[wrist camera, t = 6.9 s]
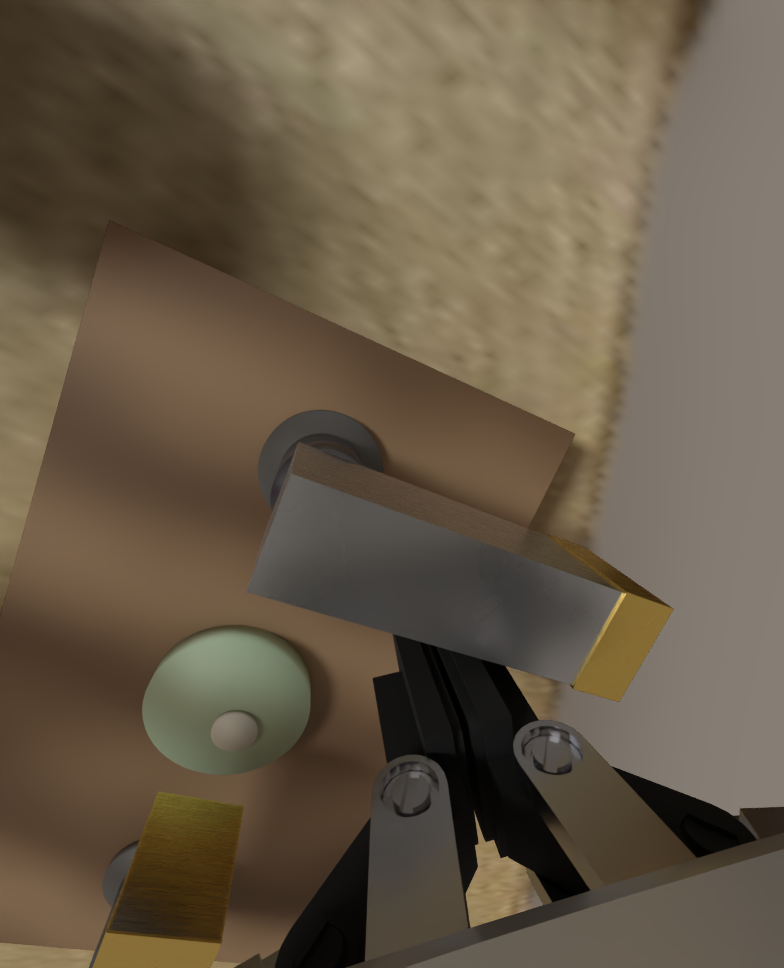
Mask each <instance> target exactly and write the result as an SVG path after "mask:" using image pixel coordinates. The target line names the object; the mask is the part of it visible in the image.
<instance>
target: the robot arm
mask: <svg viewBox="0 0 784 968" xmlns="http://www.w3.org/2000/svg"><path fill="white" fill-rule="evenodd" d="M393 640H394V645H395V651H396V656H397V661H398V667H399V672H395V673H391V674H387V675H382V676H378V677H374V678H373V685H374V691H375V697H376V702H377V708H378V714H379V720H380V726H381V732H382V738H383V744H384V750H385V756H386V761H387V764H386V765H385V766H384V767H383V768H382V769H381V770H380V771H379V773H378V775H377V777H376V778H375V780H374V783H373V788H372V796H371V817H370V818H369V820H368V821H367V823H366V824H365V825H364V827H363V828H362V830H361V831H360V832H359V834H358V835H357V837H356V838H355V839H354V841H353V842H352V844H351V845H350V846H349V848H348V849H347V851H346V852H345V853H344V855H343V856H342V858H341V859H340V860H339V862H338V863H337V865H336V866H335V867H334V869H333V870H332V872H331V873H330V874H329V876H328V877H327V879H326V880H325V881H324V883H323V884H322V886H321V887H320V888H319V890H318V891H317V893H316V894H315V895H314V897H313V898H312V900H311V901H310V902H309V904H308V905H307V907H306V908H305V909H304V911H303V912H302V914H301V915H300V916H299V918H298V919H297V921H296V922H295V923H294V925H293V926H292V928H291V929H290V931H289V932H288V934H287V936H286V938H285V939H284V941H283V943H282V945H281V947H280V949H279V950H278V951H276V952H274V953H273V954H271V955H269V956H267V957H266V958H264V959H261V956H260V953H258V954H256V955H255V956H253V957H251V958H250V959H248V960H246V961H245V962H243V963H241V964H239V965H238V966H236V967H234V968H784V807H769V808H741V809H740V815H739V816H732V815H731V814H729V813H728V812H726V811H724V810H722V809H720V808H718V807H716V806H714V805H712V804H710V803H707V802H704V801H702V800H699V799H696V798H694V797H691V796H689V795H686V794H683V793H681V792H678V791H675V790H673V789H670V788H668V787H665V786H662V785H660V784H657V783H654V782H652V781H649V780H646V779H644V778H641V777H639V776H636V775H633V774H631V773H628V772H625V771H623V770H620V769H617V768H615V767H612V766H610V765H609V764H608V762H607V761H606V760H605V759H604V758H603V757H602V756H601V755H600V754H599V753H598V752H597V751H596V750H595V749H594V748H593V746H591V744H590V743H589V742H588V741H587V740H586V739H585V738H584V737H583V736H582V735H581V734H580V733H579V732H577V731H576V730H575V729H574V728H572V727H570V726H568V725H566V724H564V723H561V722H557V721H552V720H538V718H537V717H536V715H535V713H534V712H533V710H532V708H531V707H530V705H529V704H528V702H527V700H526V699H525V697H524V696H523V694H522V692H521V691H520V689H519V688H518V686H517V684H516V683H515V681H514V679H513V678H512V676H511V675H510V673H509V671H508V670H507V668H506V667H505V666H504V665H500V664H497V663H493V662H490V661H486V660H483V659H479V658H476V657H472V656H469V655H465V654H461V653H458V652H454V651H451V650H447V649H444V648H440V647H437V646H433V645H430V644H426V643H423V642H419V641H416V640H412V639H409V638H405V637H402V636H398V635H395V634H393ZM474 811H475V814H476V817H477V820H478V823H479V826H480V829H481V831H482V834H483V837H484V839H485V841H486V842H487V841H491V840H494V841H495V844H496V846H497V849H498V852H499V854H500V857H501V858H503V857H506V856H508V857H509V858H510V859H512V860H514V861H516V862H517V863H519V864H521V865H523V866H525V867H526V870H527V874H528V877H529V879H530V881H531V884H532V886H533V887H534V889H535V891H536V893H537V895H538V896H539V898H540V900H541V902H542V903H543V906H540V907H536V908H533V909H530V910H527V911H524V912H520V913H517V914H514V915H511V916H508V917H504V918H501V919H498V920H495V921H491V922H488V923H485V924H482V925H479V926H475V927H472V928H470V921H469V914H468V907H467V900H466V894H465V893H466V891H467V889H468V887H469V885H470V883H471V880H472V878H473V876H474V874H475V872H476V870H477V867H478V864H477V857H476V850H475V845H477V844H478V836H477V829H476V822H475V815H474Z"/></svg>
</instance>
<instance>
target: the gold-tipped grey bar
mask: <svg viewBox="0 0 784 968" xmlns="http://www.w3.org/2000/svg"><path fill="white" fill-rule="evenodd" d="M270 505H271V511H272V513H271V516H270V518H269V521H268V524H267V526H266V529H265V532H264V535H263V539H262V542H261V545H260V548H259V552H258V555H257V558H256V561H255V565H254V568H253V571H252V574H251V578H250V581H249V584H248V587H247V591H246V592H248V593H251V594H255V595H258V596H262V597H265V598H269V599H272V600H276V601H279V602H283V603H286V604H290V605H293V606H297V607H300V608H304V609H307V610H311V611H314V612H318V613H321V614H325V615H328V616H332V617H335V618H339V619H342V620H346V621H349V622H353V623H356V624H360V625H363V626H367V627H370V628H374V629H377V630H381V631H384V632H388V633H391V634H395V635H398V636H402V637H405V638H409V639H412V640H416V641H419V642H423V643H426V644H430V645H433V646H437V647H440V648H444V649H447V650H451V651H454V652H458V653H461V654H465V655H469V656H472V657H476V658H479V659H483V660H486V661H490V662H493V663H497V664H500V665H504V666H507V667H511V668H514V669H518V670H521V671H525V672H528V673H532V674H535V675H539V676H542V677H546V678H549V679H553V680H556V681H560V682H563V683H567V684H570V686H571V687H572V688H573V689H575V690H578V691H582V692H585V693H589V694H592V695H596V696H600V697H603V698H607V699H610V700H614V701H617V702H619V701H620V700H621V698H622V696H623V695H624V693H625V691H626V689H627V688H628V686H629V684H630V683H631V681H632V679H633V677H634V676H635V674H636V672H637V670H638V669H639V667H640V666H641V664H642V662H643V661H644V659H645V657H646V655H647V654H648V652H649V650H650V648H651V646H652V645H653V643H654V642H655V640H656V638H657V637H658V635H659V633H660V631H661V630H662V628H663V626H664V625H665V623H666V621H667V620H668V618H669V616H670V614H671V612H672V611H673V608H672V607H670V606H669V605H667V604H666V603H664V602H663V601H661V600H660V599H658V598H657V597H656V596H654V595H653V594H651V593H650V592H649V591H647V590H646V589H644V588H643V587H641V586H640V585H638V584H637V583H635V582H634V581H633V580H631V579H630V578H628V577H627V576H625V575H624V574H623V573H621V572H620V571H618V570H617V569H615V568H614V567H612V566H611V565H610V564H608V563H607V562H605V561H604V560H603V559H601V558H600V557H598V556H597V555H595V554H594V553H592V552H591V551H590V550H588V549H587V548H584V547H582V546H579V545H576V544H574V543H571V542H568V541H566V540H563V539H561V538H558V537H555V536H553V535H550V534H549V536H546V535H544V534H541V533H538V532H536V531H533V530H531V529H528V528H525V527H523V526H520V525H517V524H515V523H512V522H509V521H507V520H504V519H501V518H499V517H496V516H494V515H491V514H488V513H486V512H483V511H480V510H478V509H475V508H472V507H470V506H467V505H464V504H462V503H459V502H457V501H454V500H451V499H449V498H446V497H443V496H441V495H438V494H435V493H433V492H430V491H427V490H425V489H422V488H420V487H417V486H414V485H412V484H409V483H406V482H404V481H401V480H398V479H396V478H393V477H390V476H388V475H385V474H383V473H380V472H377V471H375V470H372V469H369V468H367V467H364V465H363V462H362V460H361V458H360V456H359V454H358V453H357V451H356V450H355V448H354V447H353V446H352V445H351V444H349V443H348V442H347V441H346V440H344V439H342V438H340V437H338V436H335V435H332V434H326V433H317V434H311V435H308V436H305V437H303V438H301V439H299V440H297V441H296V442H294V443H293V444H292V445H291V446H290V447H289V448H288V449H287V451H286V452H285V454H284V456H283V458H282V460H281V463H280V466H279V468H278V471H277V474H276V477H275V479H274V482H273V485H272V489H271V495H270Z"/></svg>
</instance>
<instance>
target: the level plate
mask: <svg viewBox="0 0 784 968" xmlns="http://www.w3.org/2000/svg"><path fill="white" fill-rule="evenodd" d="M317 433H326V434H332V435H335V436H338V437H340V438H342V439H344V440H346V441H347V442H348V443H349V444H351V445H352V446H353V447H354V448H355V450H356V451H357V453H358V454H359V456H360V458H361V460H362V462H363V465H364V467H367V468H369V469H372V470H375V471H377V472H380V473H383V474H385V475H388V476H390V477H393V478H396V479H398V480H401V481H404V482H406V483H409V484H412V485H414V486H417V487H420V488H422V489H425V490H427V491H430V492H433V493H435V494H438V495H441V496H443V497H446V498H449V499H451V500H454V501H457V502H459V503H462V504H464V505H467V506H470V507H472V508H475V509H478V510H480V511H483V512H486V513H488V514H491V515H494V516H496V517H499V518H501V519H504V520H507V521H509V522H512V523H515V524H517V525H520V526H523V527H525V528H528V527H529V525H530V523H531V521H532V519H533V517H534V515H535V513H536V511H537V509H538V507H539V506H540V504H541V502H542V500H543V498H544V496H545V494H546V492H547V490H548V488H549V486H550V484H551V482H552V480H553V478H554V476H555V474H556V472H557V470H558V468H559V466H560V464H561V462H562V460H563V458H564V456H565V454H566V452H567V450H568V448H569V446H570V444H571V442H572V440H573V438H574V436H575V434H574V433H572V432H570V431H568V430H566V429H564V428H561V427H559V426H557V425H555V424H553V423H550V422H548V421H546V420H544V419H542V418H540V417H537V416H535V415H533V414H531V413H529V412H527V411H524V410H522V409H520V408H518V407H516V406H513V405H511V404H509V403H507V402H505V401H503V400H500V399H498V398H496V397H494V396H492V395H489V394H487V393H485V392H483V391H481V390H479V389H476V388H474V387H472V386H470V385H468V384H466V383H463V382H461V381H459V380H457V379H455V378H452V377H450V376H448V375H446V374H444V373H442V372H439V371H437V370H435V369H433V368H431V367H428V366H426V365H424V364H422V363H420V362H418V361H415V360H413V359H411V358H409V357H407V356H404V355H402V354H400V353H398V352H396V351H394V350H391V349H389V348H387V347H385V346H383V345H381V344H378V343H376V342H374V341H372V340H370V339H367V338H365V337H363V336H361V335H359V334H357V333H354V332H352V331H350V330H348V329H346V328H343V327H341V326H339V325H337V324H335V323H333V322H330V321H328V320H326V319H324V318H322V317H320V316H317V315H315V314H313V313H311V312H309V311H306V310H304V309H302V308H300V307H298V306H296V305H293V304H291V303H289V302H287V301H285V300H282V299H280V298H278V297H276V296H274V295H272V294H269V293H267V292H265V291H263V290H261V289H258V288H256V287H254V286H252V285H250V284H248V283H245V282H243V281H241V280H239V279H237V278H235V277H232V276H230V275H228V274H226V273H224V272H221V271H219V270H217V269H215V268H213V267H211V266H208V265H206V264H204V263H202V262H200V261H197V260H195V259H193V258H191V257H189V256H187V255H184V254H182V253H180V252H178V251H176V250H174V249H171V248H169V247H167V246H165V245H163V244H160V243H158V242H156V241H154V240H152V239H150V238H147V237H145V236H143V235H141V234H139V233H136V232H134V231H132V230H130V229H128V228H126V227H123V226H121V225H119V224H117V223H115V222H112V221H110V220H109V222H108V225H107V229H106V233H105V236H104V240H103V244H102V247H101V251H100V254H99V258H98V262H97V265H96V269H95V273H94V276H93V280H92V284H91V287H90V291H89V294H88V298H87V302H86V305H85V309H84V313H83V316H82V320H81V323H80V327H79V331H78V334H77V338H76V342H75V345H74V349H73V353H72V356H71V360H70V363H69V367H68V371H67V374H66V378H65V382H64V385H63V389H62V392H61V396H60V400H59V403H58V407H57V411H56V414H55V418H54V422H53V425H52V429H51V432H50V436H49V440H48V443H47V447H46V451H45V454H44V458H43V461H42V465H41V469H40V472H39V476H38V480H37V483H36V487H35V491H34V494H33V498H32V501H31V505H30V509H29V512H28V516H27V520H26V523H25V527H24V530H23V534H22V538H21V541H20V545H19V549H18V552H17V556H16V559H15V563H14V567H13V570H12V574H11V578H10V581H9V585H8V589H7V592H6V596H5V599H4V603H3V607H2V610H1V614H0V942H1V943H12V944H24V945H35V946H47V947H59V948H70V949H82V950H93V951H95V950H96V947H97V945H98V942H99V940H100V937H101V934H102V932H103V929H104V926H105V924H106V921H107V918H108V916H109V913H110V910H111V908H112V905H113V902H114V900H115V897H116V894H117V892H118V889H119V886H120V884H121V882H122V880H123V879H124V878H125V877H126V876H127V873H128V870H129V868H130V865H131V862H132V859H133V857H134V854H135V851H136V849H137V846H138V843H139V840H140V838H141V835H142V832H143V830H144V827H145V824H146V822H147V819H148V816H149V814H150V811H151V809H152V806H153V803H154V801H155V798H156V795H157V793H158V791H160V792H166V793H171V794H177V795H183V796H189V797H195V798H200V799H206V800H212V801H218V802H224V803H229V804H235V805H241V806H244V810H243V816H242V822H241V828H240V834H239V840H238V847H237V853H236V859H235V865H234V871H233V877H232V883H231V889H230V895H229V901H228V908H227V914H226V920H225V926H224V932H223V938H222V944H221V946H220V948H219V951H218V953H217V955H216V957H215V960H214V961H221V962H232V963H243V962H245V961H246V960H248V959H250V958H251V957H253V956H255V955H256V954H258V953H260V956H261V959H264V958H266V957H267V956H269V955H271V954H273V953H274V952H276V951H278V950H279V949H280V947H281V945H282V943H283V941H284V939H285V938H286V936H287V934H288V932H289V931H290V929H291V928H292V926H293V925H294V923H295V922H296V921H297V919H298V918H299V916H300V915H301V914H302V912H303V911H304V909H305V908H306V907H307V905H308V904H309V902H310V901H311V900H312V898H313V897H314V895H315V894H316V893H317V891H318V890H319V888H320V887H321V886H322V884H323V883H324V881H325V880H326V879H327V877H328V876H329V874H330V873H331V872H332V870H333V869H334V867H335V866H336V865H337V863H338V862H339V860H340V859H341V858H342V856H343V855H344V853H345V852H346V851H347V849H348V848H349V846H350V845H351V844H352V842H353V841H354V839H355V838H356V837H357V835H358V834H359V832H360V831H361V830H362V828H363V827H364V825H365V824H366V823H367V821H368V820H369V818H370V817H371V796H372V788H373V783H374V780H375V778H376V777H377V775H378V773H379V771H380V770H381V769H382V768H383V767H384V766H385V765H386V764H387V761H386V756H385V750H384V744H383V738H382V732H381V726H380V720H379V714H378V708H377V702H376V697H375V691H374V685H373V678H374V677H378V676H382V675H387V674H391V673H395V672H399V667H398V661H397V656H396V651H395V645H394V640H393V634H391V633H388V632H384V631H381V630H377V629H374V628H370V627H367V626H363V625H360V624H356V623H353V622H349V621H346V620H342V619H339V618H335V617H332V616H328V615H325V614H321V613H318V612H314V611H311V610H307V609H304V608H300V607H297V606H293V605H290V604H286V603H283V602H279V601H276V600H272V599H269V598H265V597H262V596H258V595H255V594H251V593H248V592H246V591H247V587H248V584H249V581H250V578H251V574H252V571H253V568H254V565H255V561H256V558H257V555H258V552H259V548H260V545H261V542H262V539H263V535H264V532H265V529H266V526H267V524H268V521H269V518H270V516H271V513H272V511H271V505H270V495H271V489H272V485H273V482H274V479H275V477H276V474H277V471H278V468H279V466H280V463H281V460H282V458H283V456H284V454H285V452H286V451H287V449H288V448H289V447H290V446H291V445H292V444H293V443H294V442H296V441H297V440H299V439H301V438H303V437H305V436H308V435H311V434H317Z"/></svg>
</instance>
